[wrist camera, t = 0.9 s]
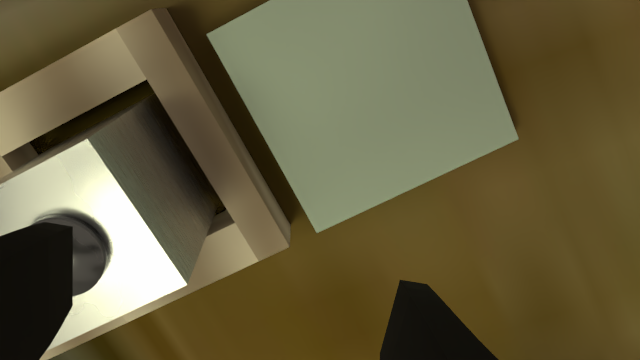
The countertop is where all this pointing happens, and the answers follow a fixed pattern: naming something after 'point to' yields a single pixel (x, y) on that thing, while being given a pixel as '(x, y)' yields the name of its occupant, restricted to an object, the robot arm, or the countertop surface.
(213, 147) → the birch frame
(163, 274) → the knob-topped grey cube
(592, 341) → the countertop surface
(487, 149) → the rubber pad
